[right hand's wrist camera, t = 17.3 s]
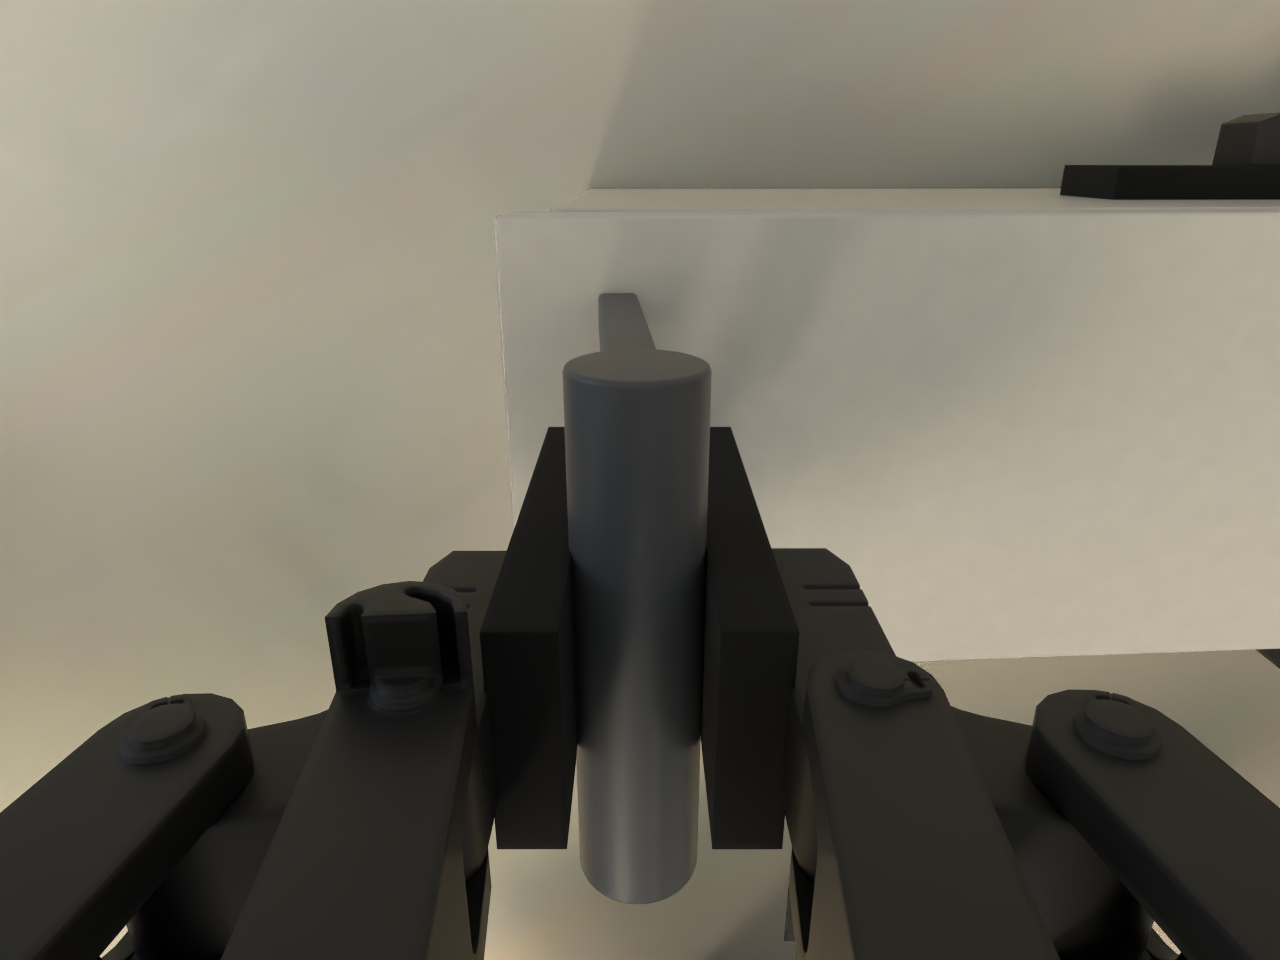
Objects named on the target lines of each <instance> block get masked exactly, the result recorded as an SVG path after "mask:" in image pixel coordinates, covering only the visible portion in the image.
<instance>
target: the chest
mask: <svg viewBox="0 0 1280 960" xmlns="http://www.w3.org/2000/svg"><path fill="white" fill-rule="evenodd" d="M1060 191H1061V188H906V189H588V190H586V191H584V192H582V193H580V194H579V195H577V196H575V197H573V198H571V199H569V200H567V201H565V202H563V203H561V204H559V205H557V206H555V207H553V208H551V209H550V211H549V212H679V211H862V210H1045V209H1228V208H1280V200H1110V199H1099V198H1088V197H1077V196H1066V195H1060Z"/></svg>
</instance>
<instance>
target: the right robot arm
mask: <svg viewBox="0 0 1280 960" xmlns="http://www.w3.org/2000/svg"><path fill="white" fill-rule="evenodd" d="M325 622H326V628H327V635H328V641H329V647H330V654H331V660H332V666H333V673H334V679H335V685H336V694H335V696H334V698H333V701H332V703H331V705H330V708H329V710H326V711H324V712H321V713H319V714H316V715H312V716H308V717H304V718H301V719H297V720H292V721H287V722H282V723H277V724H272V725H268V726H263V727H258V728H253V729H248V730H247V725H246V721H245V716H244V711H243V710H242V709H241V708H240V707H239V706H238V705H237V704H236V703H235V702H234V701H233V700H232V699H230V698H226V697H222V696H219V695H215V694H211V693H210V694H182V695H175V696H171V697H169V698H167V697H165V698H161V699H158V700H154V701H151V702H149V703H148V704H145V705H143V706H141V707H138V708H136V709H133V710H131V711H129V712H126V713H124V714H122V715H121V716H119V717H118V718H116V719H115V720H113V721H112V722H110V723H109V724H107V725H106V726H104V727H103V728H101V729H100V730H98V731H97V732H96V733H95V734H94V735H92V736H91V737H90V738H89V739H88V740H87V741H85V742H84V743H83V744H82V745H81V746H79V747H78V748H77V749H76V750H75V751H73V752H72V753H71V754H70V755H69V756H68V757H66V758H65V759H64V760H63V761H62V762H60V763H59V764H58V765H57V766H56V767H54V768H53V769H52V770H51V771H50V772H48V773H47V774H46V775H45V776H44V777H43V778H41V779H40V780H39V781H38V782H37V783H35V784H34V785H33V786H32V787H31V788H29V789H28V790H27V791H26V792H25V793H23V794H22V795H21V796H20V797H19V798H18V799H16V800H15V801H14V802H13V803H12V804H10V805H9V806H8V807H7V808H6V809H4V810H3V811H2V812H1V813H0V960H484V951H485V942H486V932H487V922H488V913H489V903H490V894H491V878H490V867H489V855H488V844H489V839H490V835H491V830H492V826H493V821H494V817H495V829H496V841H497V849H567V842H568V832H569V823H570V813H571V804H572V794H573V784H574V775H575V765H576V756H577V746H578V739H577V709H576V680H575V650H574V621H573V591H572V562H571V552H570V550H569V538H568V510H567V483H566V455H565V428H564V427H548V430H547V433H546V436H545V439H544V442H543V445H542V448H541V451H540V454H539V457H538V460H537V463H536V466H535V469H534V472H533V475H532V478H531V481H530V483H529V486H528V489H527V492H526V495H525V498H524V501H523V504H522V507H521V510H520V513H519V516H518V519H517V522H516V525H515V528H514V531H513V534H512V537H511V540H510V543H509V546H508V549H507V551H453V552H451V553H450V554H449V555H447V556H446V557H444V558H443V559H442V560H440V561H439V562H438V563H436V564H435V565H433V566H432V567H431V568H430V569H429V571H428V573H427V575H426V577H425V579H424V581H423V582H414V581H407V582H399V583H391V584H383V585H380V586H376V587H373V588H370V589H367V590H363V591H360V592H357V593H355V594H354V595H352V596H350V597H348V598H347V599H345V600H343V601H341V602H339V603H338V604H337V605H336V606H335V607H334V608H333V609H332V610H331V611H330V612H329V613H328V614H327V616H326V617H325ZM701 744H702V754H703V763H704V773H705V782H706V792H707V802H708V811H709V821H710V830H711V840H712V849H782V843H783V831H784V819H785V816H786V821H787V825H788V830H789V834H790V839H791V843H792V855H791V867H790V878H789V890H788V901H787V913H786V924H785V936H784V941H795V950H796V959H797V960H1280V808H1279V807H1278V806H1277V805H1275V804H1274V803H1273V802H1272V801H1271V800H1269V799H1268V798H1267V797H1266V796H1265V795H1263V794H1262V793H1261V792H1260V791H1259V790H1257V789H1256V788H1255V787H1254V786H1253V785H1251V784H1250V783H1249V782H1248V781H1247V780H1245V779H1244V778H1243V777H1242V776H1241V775H1239V774H1238V773H1237V772H1236V771H1235V770H1233V769H1232V768H1231V767H1230V766H1229V765H1227V764H1226V763H1225V762H1224V761H1223V760H1221V759H1220V758H1219V757H1218V756H1217V755H1215V754H1214V753H1213V752H1212V751H1211V750H1209V749H1208V748H1207V747H1206V746H1205V745H1203V744H1202V743H1201V742H1200V741H1199V740H1197V739H1196V738H1195V737H1194V736H1193V735H1191V734H1190V733H1189V732H1188V731H1187V730H1185V729H1184V728H1183V727H1182V726H1180V725H1179V724H1177V723H1176V722H1174V721H1173V720H1171V719H1170V718H1168V717H1167V716H1165V715H1164V714H1162V713H1161V712H1159V711H1158V710H1156V709H1154V708H1151V707H1149V706H1147V705H1144V704H1142V703H1139V702H1137V701H1134V700H1132V699H1131V698H1128V697H1126V696H1122V695H1118V694H1115V693H1113V694H1110V693H1109V692H1104V691H1097V690H1065V691H1062V692H1058V693H1054V694H1051V695H1048V696H1047V697H1046V698H1045V699H1044V700H1043V701H1042V702H1041V703H1040V704H1038V705H1037V706H1036V711H1035V716H1034V721H1033V725H1032V726H1030V725H1025V724H1020V723H1015V722H1010V721H1005V720H1000V719H995V718H990V717H985V716H981V715H977V714H974V713H970V712H966V711H962V710H959V709H957V708H955V707H952V706H950V704H949V702H948V699H947V697H946V695H945V692H944V690H943V689H942V688H941V686H940V685H939V684H938V682H937V681H936V680H935V678H934V677H933V676H932V675H931V674H930V673H928V672H927V671H925V670H924V669H922V668H921V667H919V666H917V665H916V664H914V663H913V662H910V661H908V660H905V659H902V658H899V657H897V656H896V655H895V653H894V651H893V649H892V647H891V645H890V643H889V641H888V639H887V637H886V635H885V633H884V631H883V629H882V627H881V626H880V624H879V622H878V620H877V618H876V616H875V614H874V612H873V610H872V608H871V606H869V605H868V600H867V598H866V596H865V594H864V592H863V590H862V589H860V585H859V583H858V581H857V579H856V577H855V575H854V573H853V571H852V569H851V567H850V565H848V564H847V563H846V562H844V561H843V560H842V559H840V558H839V557H837V556H836V555H835V554H833V553H832V552H830V551H829V550H828V549H826V548H771V546H770V543H769V540H768V537H767V534H766V531H765V528H764V525H763V522H762V519H761V516H760V513H759V510H758V507H757V504H756V501H755V498H754V495H753V492H752V489H751V486H750V483H749V480H748V477H747V474H746V471H745V468H744V465H743V462H742V459H741V456H740V453H739V450H738V447H737V444H736V441H735V438H734V435H733V432H732V429H731V427H710V441H709V474H708V507H707V540H706V574H705V607H704V640H703V672H702V704H701ZM1154 921H1155V922H1156V923H1157V924H1158V925H1159V927H1160V928H1161V929H1162V930H1163V931H1164V932H1165V934H1166V935H1167V936H1168V937H1169V938H1170V939H1171V940H1172V942H1173V943H1174V944H1175V945H1176V946H1177V947H1178V949H1179V950H1180V951H1181V953H1180V955H1178V954H1176V953H1175V952H1174V951H1173V950H1172V949H1171V948H1170V947H1169V946H1168V945H1167V944H1165V942H1164V941H1163V940H1162V939H1161V938H1160V937H1159V935H1158V934H1157V933H1156V932H1155V931H1154V929H1153V928H1152V925H1153V922H1154ZM125 925H127V928H128V932H127V933H126V934H125V935H124V937H123V938H122V939H121V940H120V941H119V942H118V944H117V945H116V946H115V947H114V948H113V949H112V950H110V951H109V952H108V953H107V954H106V955H105V956H103V957H102V958H100V957H99V956H100V955H101V954H102V952H103V951H104V950H105V949H106V948H107V947H108V945H109V944H110V943H111V942H112V941H113V940H114V938H115V937H116V936H117V935H118V934H119V932H120V931H121V930H122V929H123V928H124V927H125Z"/></svg>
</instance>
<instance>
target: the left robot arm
mask: <svg viewBox="0 0 1280 960" xmlns="http://www.w3.org/2000/svg"><path fill="white" fill-rule="evenodd" d="M1060 195H1066V196H1077V197H1088V198H1099V199H1110V200H1280V113H1270V114H1256V115H1244V116H1241V117H1239V118H1236V119H1234V120H1231V121H1228V122H1226V123H1223V124H1222V125H1221V129H1220V134H1219V138H1218V142H1217V146H1216V151H1215V155H1214V159H1213V163H1212V165H1065V168H1064V173H1063V179H1062V185H1061V191H1060ZM1256 650H1257V651H1258V652H1259V653H1261V654H1262V655H1263V656H1264V657H1266V658H1267V659H1268V660H1269V661H1271V662H1272V663H1273V664H1274V665H1276V666H1277V667H1278V668H1280V649H1256Z"/></svg>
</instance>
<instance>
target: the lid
mask: <svg viewBox="0 0 1280 960" xmlns="http://www.w3.org/2000/svg"><path fill="white" fill-rule="evenodd" d="M494 230H495V246H496V262H497V278H498V294H499V310H500V326H501V342H502V358H503V374H504V390H505V406H506V421H507V437H508V453H509V469H510V485H511V501H512V517H513V531H514V528H515V525H516V522H517V519H518V516H519V513H520V510H521V507H522V504H523V501H524V498H525V495H526V492H527V489H528V486H529V483H530V481H531V478H532V475H533V472H534V469H535V466H536V463H537V460H538V457H539V454H540V451H541V448H542V445H543V442H544V439H545V436H546V433H547V430H548V427H564V428H565V455H566V483H567V510H568V538H569V550H570V552H571V562H572V591H573V621H574V650H575V680H576V709H577V739H578V746H577V756H576V757H577V785H578V812H579V840H580V862H581V866H582V870H583V872H584V874H585V876H586V877H587V879H588V881H589V882H590V883H591V884H592V886H593V887H594V888H595V889H597V890H598V891H599V892H600V893H602V894H603V895H605V896H607V897H609V898H611V899H614V900H616V901H620V902H624V903H630V904H647V903H653V902H657V901H660V900H663V899H666V898H668V897H670V896H672V895H673V894H675V893H676V892H678V891H679V890H680V889H681V888H683V886H684V885H685V884H686V883H687V882H688V880H689V879H690V877H691V876H692V874H693V872H694V870H695V866H696V862H697V838H698V805H699V772H700V739H701V704H702V672H703V640H704V607H705V574H706V540H707V507H708V474H709V441H710V427H731V429H732V432H733V435H734V438H735V441H736V444H737V447H738V450H739V453H740V456H741V459H742V462H743V465H744V468H745V471H746V474H747V477H748V480H749V483H750V486H751V489H752V492H753V495H754V498H755V501H756V504H757V507H758V510H759V513H760V516H761V519H762V522H763V525H764V528H765V531H766V534H767V537H768V540H769V543H770V546H771V548H826V549H828V550H829V551H830V552H832V553H833V554H835V555H836V556H837V557H839V558H840V559H842V560H843V561H844V562H846V563H847V564H848V565H850V567H851V569H852V571H853V573H854V575H855V577H856V579H857V581H858V583H859V585H860V589H862V590H863V592H864V594H865V596H866V598H867V600H868V605H869V606H871V608H872V610H873V612H874V614H875V616H876V618H877V620H878V622H879V624H880V626H881V627H882V629H883V631H884V633H885V635H886V637H887V639H888V641H889V643H890V645H891V647H892V649H893V651H894V653H895V655H896V656H897V657H899V658H902V659H905V660H908V661H910V662H923V661H951V660H978V659H1006V658H1034V657H1061V656H1089V655H1117V654H1144V653H1172V652H1200V651H1227V650H1255V649H1280V208H1228V209H1045V210H862V211H679V212H503V213H501V214H500V215H498V216H497V217H495V219H494Z"/></svg>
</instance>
